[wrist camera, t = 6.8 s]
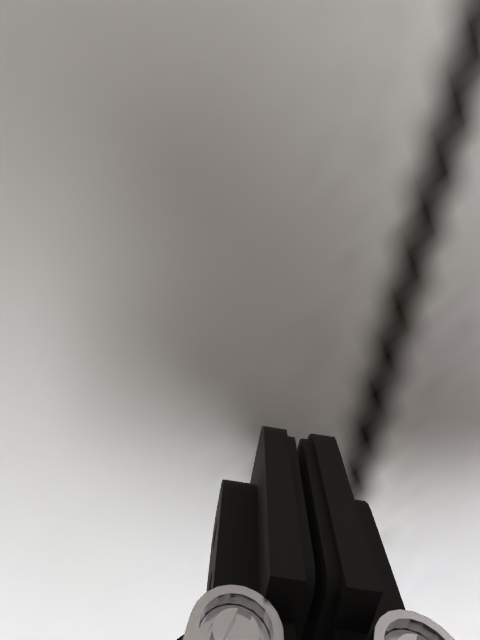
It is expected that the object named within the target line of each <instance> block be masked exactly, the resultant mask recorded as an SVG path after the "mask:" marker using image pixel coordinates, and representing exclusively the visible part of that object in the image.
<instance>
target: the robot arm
mask: <svg viewBox="0 0 480 640" xmlns="http://www.w3.org/2000/svg"><path fill="white" fill-rule="evenodd" d="M177 640H455V639H454V638H453V637H452V636H451V635H450V634H449V633H448V632H447V631H446V630H445V629H443V628H442V627H441V626H440V625H438V624H437V623H435V622H434V621H432V620H431V619H430V618H428V617H426V616H424V615H421V614H419V613H416V612H414V611H408V610H405V607H404V604H403V601H402V599H401V596H400V593H399V590H398V587H397V584H396V581H395V578H394V575H393V573H392V570H391V567H390V564H389V561H388V558H387V555H386V552H385V549H384V547H383V544H382V541H381V538H380V535H379V532H378V529H377V526H376V523H375V521H374V518H373V515H372V512H371V509H370V507H369V505H368V503H366V502H365V501H360V500H354V497H353V493H352V490H351V487H350V484H349V480H348V477H347V474H346V471H345V467H344V464H343V461H342V458H341V454H340V451H339V448H338V445H337V441H336V439H335V438H334V437H330V436H323V435H317V434H310V435H309V437H308V439H302V438H301V439H300V441H299V445H298V449H297V448H296V442H295V438H294V437H289V436H287V431H286V430H285V429H279V428H272V427H266V426H263V427H262V429H261V433H260V438H259V443H258V447H257V452H256V457H255V462H254V467H253V472H252V477H251V481H250V484H249V483H243V482H236V481H230V480H222V484H221V489H220V494H219V500H218V505H217V511H216V517H215V524H214V531H213V538H212V546H211V555H210V565H209V574H208V583H207V592H206V593H205V594H204V595H203V596H202V597H201V598H200V599H199V600H198V601H197V602H196V604H195V606H194V608H193V610H192V612H191V614H190V617H189V621H188V624H187V627H186V631H185V634H184V635H182V636H181V637H180V638H178V639H177Z"/></svg>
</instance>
